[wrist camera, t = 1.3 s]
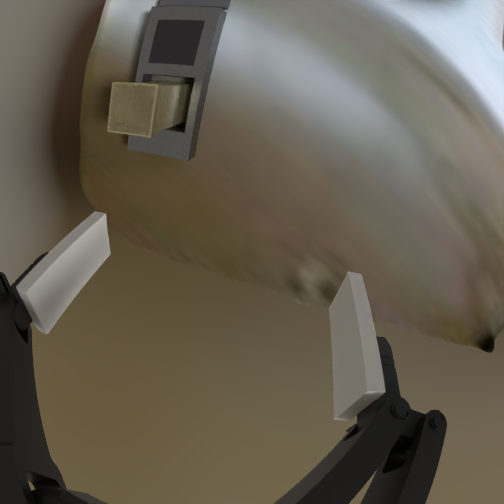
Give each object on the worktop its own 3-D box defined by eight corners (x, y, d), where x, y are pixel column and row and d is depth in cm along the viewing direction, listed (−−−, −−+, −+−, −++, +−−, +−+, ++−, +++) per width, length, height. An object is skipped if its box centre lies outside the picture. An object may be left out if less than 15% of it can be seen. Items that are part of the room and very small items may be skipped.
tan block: (156, 79, 28) (112, 82, 20) (194, 83, 28) (158, 84, 20) (150, 117, 31) (107, 131, 23) (187, 122, 31) (150, 137, 23)
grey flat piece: (160, 10, 22) (151, 6, 20) (226, 12, 22) (221, 7, 20) (136, 145, 34) (127, 149, 32) (194, 156, 34) (187, 161, 32)
